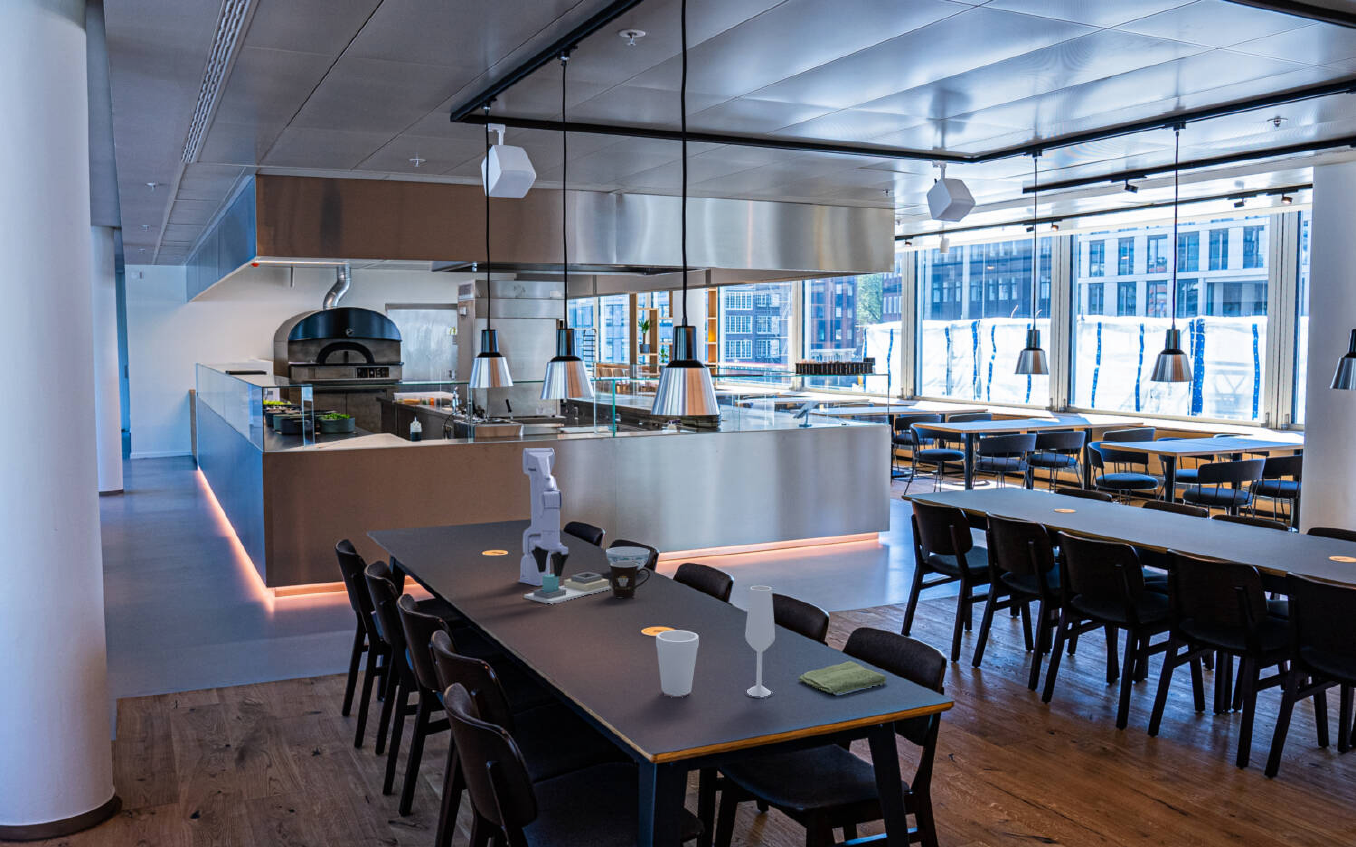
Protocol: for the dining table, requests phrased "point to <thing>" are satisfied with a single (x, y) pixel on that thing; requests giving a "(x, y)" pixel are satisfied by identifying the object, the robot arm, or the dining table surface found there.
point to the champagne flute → (760, 630)
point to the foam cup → (677, 660)
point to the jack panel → (572, 588)
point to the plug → (550, 583)
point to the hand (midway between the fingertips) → (549, 574)
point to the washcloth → (842, 678)
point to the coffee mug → (625, 578)
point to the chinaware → (628, 555)
